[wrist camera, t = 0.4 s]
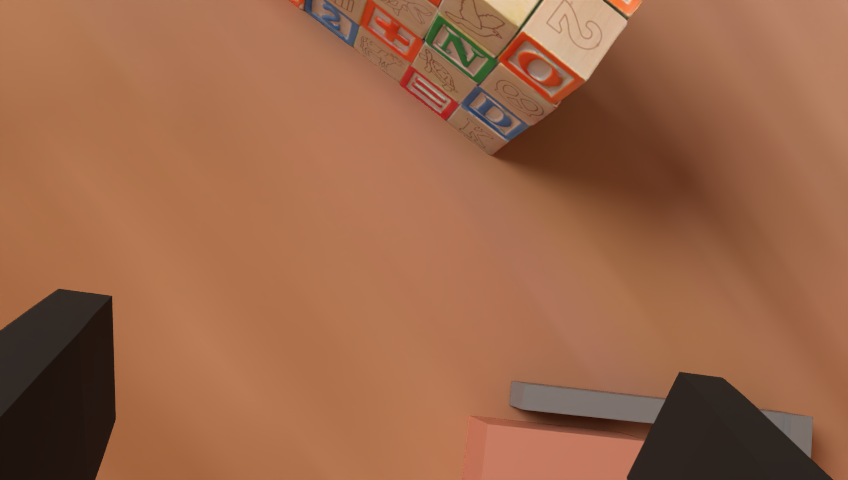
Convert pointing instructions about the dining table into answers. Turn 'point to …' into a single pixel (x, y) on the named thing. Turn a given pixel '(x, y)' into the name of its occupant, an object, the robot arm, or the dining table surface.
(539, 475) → the brick-red plug
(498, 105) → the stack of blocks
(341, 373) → the dining table surface
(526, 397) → the cable organizer
